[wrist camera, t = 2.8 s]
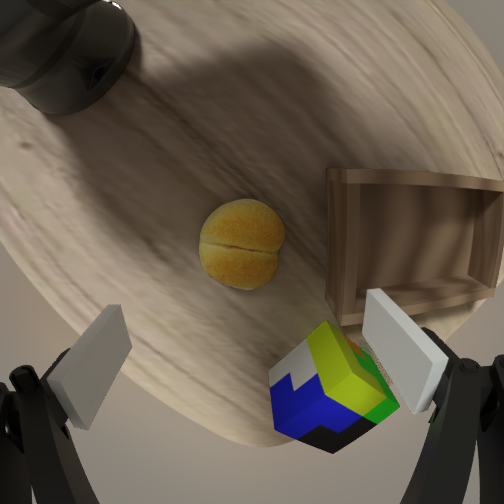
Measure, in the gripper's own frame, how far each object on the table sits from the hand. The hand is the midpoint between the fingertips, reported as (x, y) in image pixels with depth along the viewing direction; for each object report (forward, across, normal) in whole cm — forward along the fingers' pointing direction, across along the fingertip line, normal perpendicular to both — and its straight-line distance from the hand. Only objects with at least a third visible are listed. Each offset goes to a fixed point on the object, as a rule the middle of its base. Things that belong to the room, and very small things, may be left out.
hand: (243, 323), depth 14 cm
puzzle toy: (+16, +9, -17) cm, 25 cm away
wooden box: (+16, +20, 0) cm, 25 cm away
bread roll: (+16, 0, 0) cm, 16 cm away
